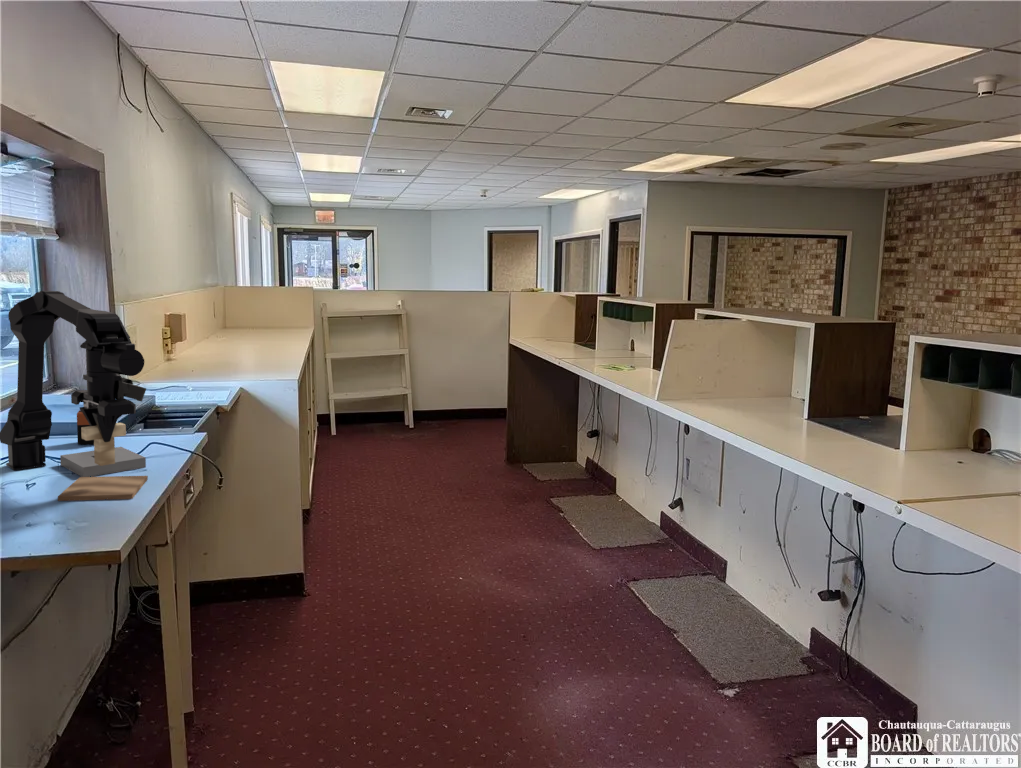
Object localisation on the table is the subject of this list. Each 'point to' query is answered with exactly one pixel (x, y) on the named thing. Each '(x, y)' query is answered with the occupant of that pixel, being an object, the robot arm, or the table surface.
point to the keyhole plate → (87, 466)
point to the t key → (103, 443)
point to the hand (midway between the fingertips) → (103, 440)
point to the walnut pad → (103, 488)
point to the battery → (80, 423)
